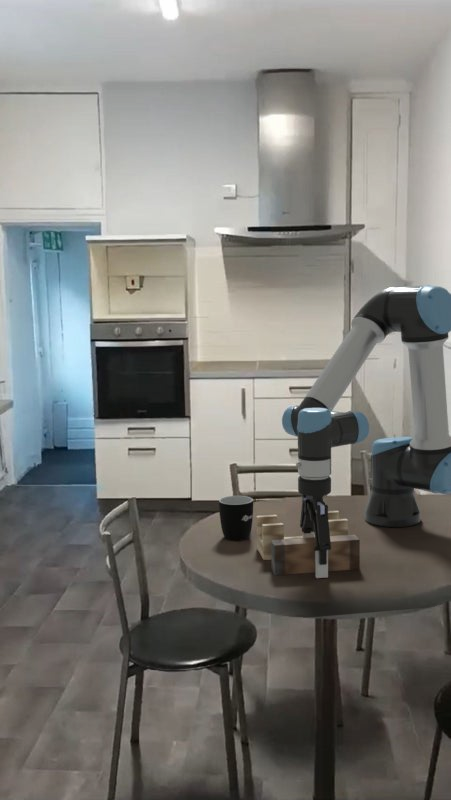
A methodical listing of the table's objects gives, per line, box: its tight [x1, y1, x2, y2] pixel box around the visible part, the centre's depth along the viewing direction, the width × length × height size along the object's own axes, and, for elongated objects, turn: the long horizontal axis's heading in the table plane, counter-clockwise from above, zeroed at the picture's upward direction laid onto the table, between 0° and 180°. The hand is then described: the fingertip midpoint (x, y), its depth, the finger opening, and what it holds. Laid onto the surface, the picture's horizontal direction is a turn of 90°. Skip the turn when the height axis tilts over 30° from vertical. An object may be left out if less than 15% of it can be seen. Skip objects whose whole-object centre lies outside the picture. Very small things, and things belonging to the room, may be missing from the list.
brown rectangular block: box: [270, 534, 361, 576], centre depth 187 cm, size 20×4×7 cm, turn 98°
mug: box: [218, 495, 254, 542], centre depth 213 cm, size 12×9×10 cm
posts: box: [255, 510, 349, 561], centre depth 199 cm, size 21×9×8 cm, turn 98°
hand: (314, 568), depth 187 cm, fingers open, 11 cm apart
